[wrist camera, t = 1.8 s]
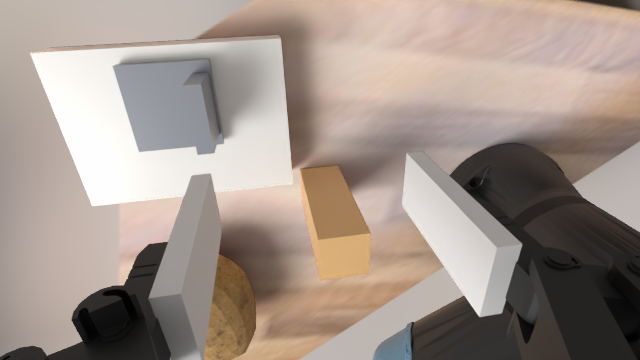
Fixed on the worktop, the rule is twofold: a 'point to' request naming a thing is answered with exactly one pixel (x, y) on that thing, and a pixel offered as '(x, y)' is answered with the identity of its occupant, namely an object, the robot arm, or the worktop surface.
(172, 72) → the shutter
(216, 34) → the worktop surface
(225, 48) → the socket board
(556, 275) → the robot arm
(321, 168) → the plug
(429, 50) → the worktop surface
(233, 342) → the potato
